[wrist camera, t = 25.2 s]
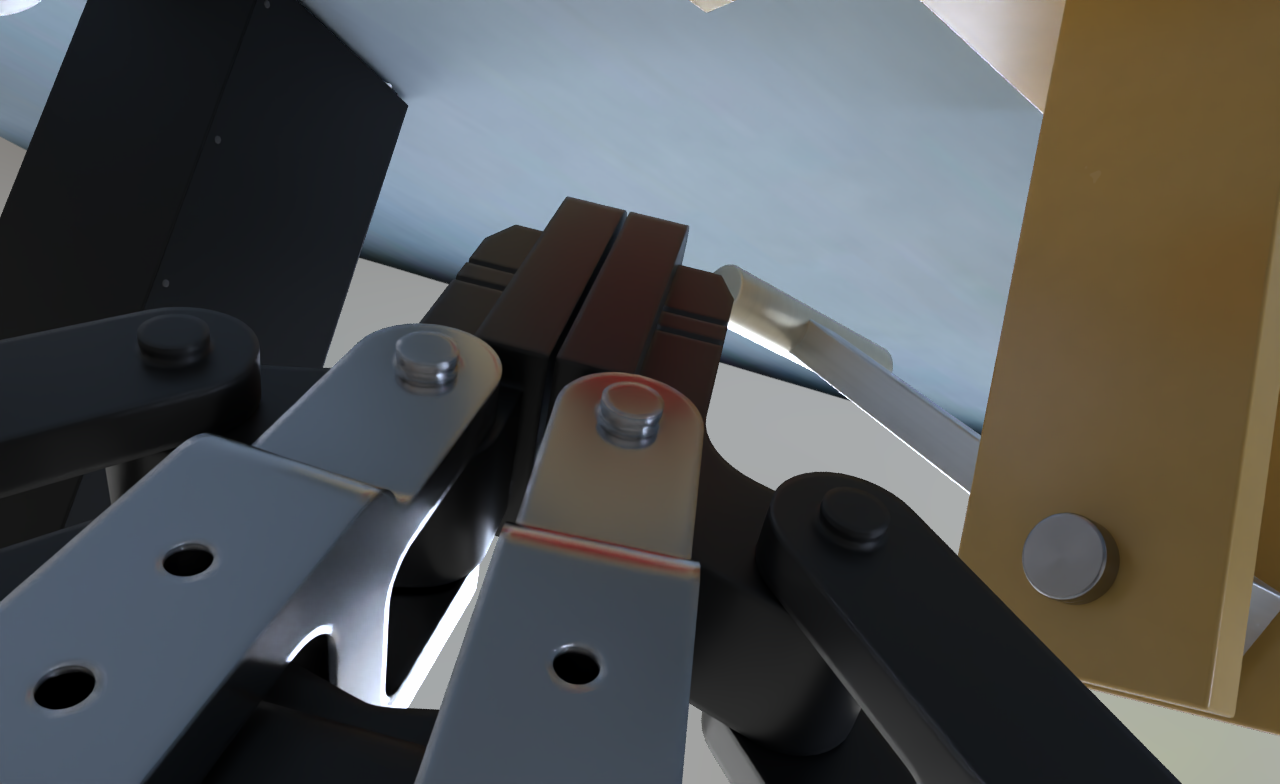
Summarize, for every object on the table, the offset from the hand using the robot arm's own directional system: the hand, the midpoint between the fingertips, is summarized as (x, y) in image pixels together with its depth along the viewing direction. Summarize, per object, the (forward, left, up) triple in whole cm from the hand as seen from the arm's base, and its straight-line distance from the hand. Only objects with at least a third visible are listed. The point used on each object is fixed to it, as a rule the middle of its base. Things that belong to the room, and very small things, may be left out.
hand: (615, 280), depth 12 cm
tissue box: (+26, 0, -12) cm, 29 cm away
